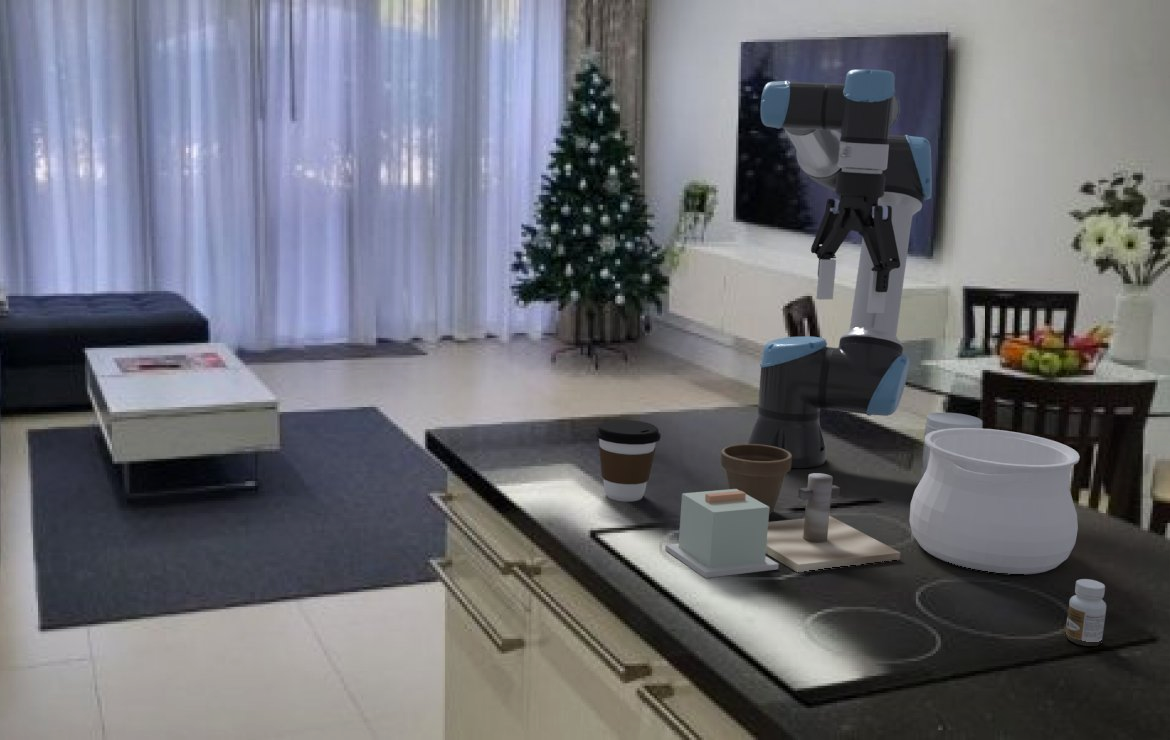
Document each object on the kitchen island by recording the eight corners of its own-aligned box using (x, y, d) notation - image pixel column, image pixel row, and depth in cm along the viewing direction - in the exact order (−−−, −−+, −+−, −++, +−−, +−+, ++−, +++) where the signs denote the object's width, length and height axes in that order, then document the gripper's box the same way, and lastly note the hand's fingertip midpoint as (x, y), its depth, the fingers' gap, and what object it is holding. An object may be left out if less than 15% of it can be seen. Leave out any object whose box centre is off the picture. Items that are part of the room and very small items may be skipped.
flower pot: (708, 515, 207) (713, 455, 205) (726, 496, 218) (730, 439, 216) (779, 526, 203) (784, 465, 201) (793, 507, 214) (798, 448, 212)
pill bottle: (1058, 633, 165) (1066, 577, 164) (1091, 634, 166) (1099, 577, 164) (1074, 647, 161) (1081, 589, 160) (1107, 648, 162) (1115, 590, 160)
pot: (1051, 595, 179) (1066, 479, 176) (883, 556, 192) (894, 447, 188) (1088, 548, 200) (1102, 444, 197) (934, 516, 213) (945, 418, 210)
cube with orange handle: (732, 541, 192) (736, 482, 191) (765, 561, 184) (770, 500, 182) (678, 546, 189) (682, 486, 187) (709, 568, 180) (714, 505, 179)
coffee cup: (670, 497, 215) (674, 428, 213) (627, 510, 207) (631, 438, 205) (621, 483, 223) (625, 415, 220) (578, 494, 215) (581, 424, 212)
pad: (665, 549, 189) (665, 544, 189) (735, 542, 194) (735, 537, 194) (705, 577, 179) (705, 572, 179) (778, 569, 184) (778, 563, 184)
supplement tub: (986, 504, 221) (996, 422, 218) (949, 511, 216) (959, 427, 213) (943, 489, 229) (952, 409, 226) (906, 496, 224) (914, 414, 221)
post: (732, 532, 199) (738, 464, 197) (829, 522, 206) (835, 457, 204) (797, 572, 183) (804, 498, 181) (899, 560, 190) (906, 489, 188)
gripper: (796, 165, 209) (786, 294, 214) (892, 175, 187) (878, 319, 191) (834, 166, 213) (823, 293, 217) (933, 177, 190) (918, 318, 195)
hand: (849, 305), depth 204 cm, fingers open, 13 cm apart
